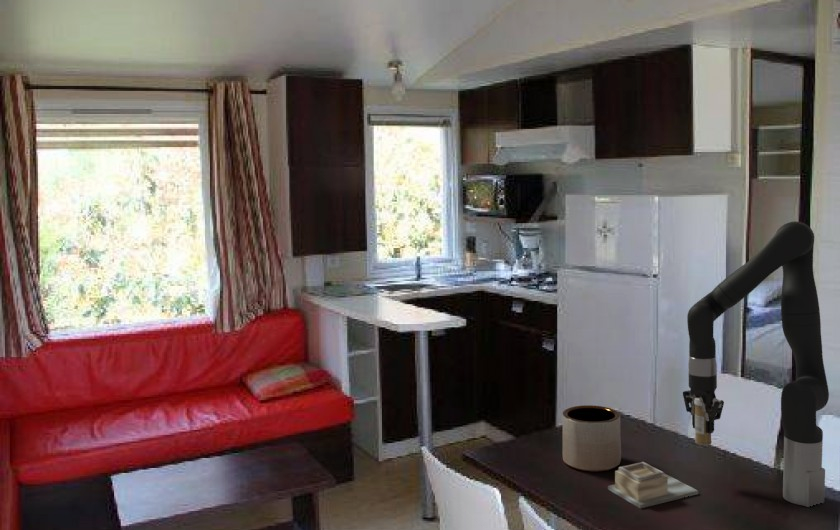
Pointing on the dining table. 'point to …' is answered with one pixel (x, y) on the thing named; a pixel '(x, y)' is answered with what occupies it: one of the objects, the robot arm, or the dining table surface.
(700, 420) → the sprinkles bottle
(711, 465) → the dining table surface
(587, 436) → the planter
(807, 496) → the robot arm
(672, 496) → the build base
